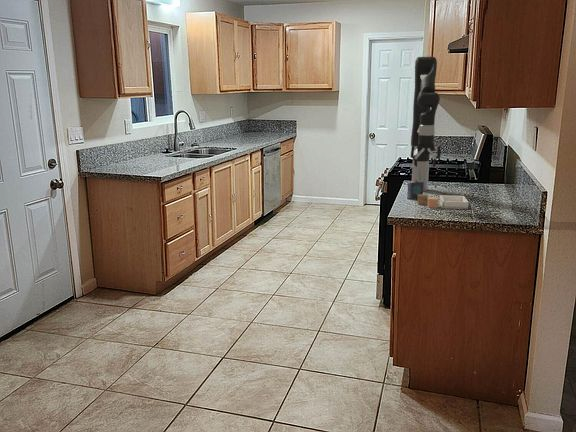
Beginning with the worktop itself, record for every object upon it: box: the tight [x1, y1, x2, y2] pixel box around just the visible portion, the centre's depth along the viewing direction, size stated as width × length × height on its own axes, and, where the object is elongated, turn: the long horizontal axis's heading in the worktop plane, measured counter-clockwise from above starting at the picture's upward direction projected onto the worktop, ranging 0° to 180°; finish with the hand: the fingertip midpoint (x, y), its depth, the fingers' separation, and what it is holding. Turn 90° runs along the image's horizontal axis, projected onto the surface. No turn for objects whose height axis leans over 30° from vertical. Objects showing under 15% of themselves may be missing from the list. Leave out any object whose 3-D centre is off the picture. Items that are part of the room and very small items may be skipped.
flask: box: [406, 178, 424, 200], centre depth 270 cm, size 9×3×11 cm, turn 109°
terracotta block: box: [427, 196, 439, 209], centre depth 251 cm, size 4×4×4 cm
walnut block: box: [417, 193, 429, 206], centre depth 258 cm, size 4×4×4 cm
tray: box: [438, 194, 469, 210], centre depth 253 cm, size 15×12×4 cm
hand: (424, 166), depth 253 cm, fingers open, 8 cm apart
